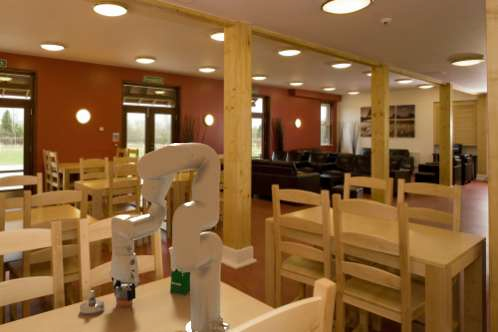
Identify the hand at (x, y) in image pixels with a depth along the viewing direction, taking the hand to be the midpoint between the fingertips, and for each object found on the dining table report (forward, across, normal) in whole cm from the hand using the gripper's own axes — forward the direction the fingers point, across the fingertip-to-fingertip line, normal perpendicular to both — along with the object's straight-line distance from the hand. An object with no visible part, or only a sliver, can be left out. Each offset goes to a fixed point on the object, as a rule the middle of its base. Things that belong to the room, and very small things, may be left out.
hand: (124, 296), depth 136 cm
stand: (+3, 0, 0) cm, 3 cm away
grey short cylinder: (-1, 0, 0) cm, 1 cm away
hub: (+3, +6, +9) cm, 11 cm away
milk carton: (+3, -9, -21) cm, 23 cm away
